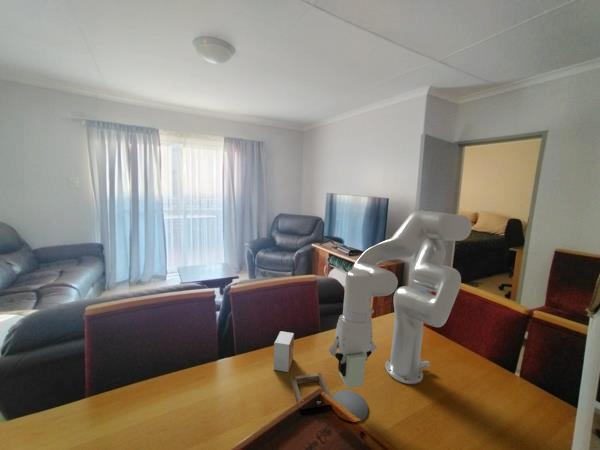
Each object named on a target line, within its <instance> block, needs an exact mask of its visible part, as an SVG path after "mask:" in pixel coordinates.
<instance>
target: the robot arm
mask: <svg viewBox="0 0 600 450" xmlns="http://www.w3.org/2000/svg"><path fill="white" fill-rule="evenodd" d="M472 226H473V224H472V220H471V219H470V217H468V216H467V215H463V214H455V213H454V214H453V213H448V212H438V211H429V210H415V211H413V212H411V213H410V214H409V215H408V217H407V218H406V219H405V220H404V221H403V222H402V224H401V225H400V226H399V227H398V228H397V230H396V231H395V232H394V233H393V235H392V236H391V237H390V238H388V239H386V240H383V241H380V242H379V243H376V244H375V245H373V246H370V247H369V248H367V249H366V250H364V252H363V253H361V255H360V256H359V257H358V258H357V260H356V261H355V263H354V264H353V266H352V268H350V270H348V271H347V272H346V274H345V284H344V297H343V307H342V308H343V309H342V314H340V315H339V317H338V320H337V323H336V329H335V334H334V342H333V343H332V344H331V346H330V347H329V348H328V352H329V354H330V355H332V356H333V357H335V358H336V359H337V360H338V367H337V369H338V373H339V372H341V374H342V376H343V377H344V376H345V375H346V363H345V361H346V358H347V355H348V354H354V353H364V355H365V356H366V361H368V358H369V357H370V356H371V355H372V353H374V351H376V350H377V347H378V346H377V345H376V344H375V342H374V341H373V324H372V317H371V314H374V312H375V310H374V308H371V307H372V298H373V297H386V296H390V295H391V294H393V293H394V294H393V299H392V300H393V308H394V309H393V310H394V321H393V331H392V341H391V342H392V343H391V350H390V358H389V359H387V360H386V362H385V366H384V367H385V370H386V373H387V374H388V375H389V376H390V377H391V378H393V379H394V380H396V381H397V382H399V383H403V384H407V385H417V384H419V383H421V382H422V381H423V380H424V379H423V378H424V373H423V370H422V369H423V368H428V367H430V366H431V363H430V361H429V360H423V359H422V358H421V352H422V345H423V344H422V342H423V336H424V335H423V334H424V326H423V323H424V324H425V325H429V326H431V327H435V328H441V327H443V326H444V325H445V324H446V323H447V320H448V319H449V316H450V314H451V312H452V308H453V307H454V304H455V302H456V299H457V297H458V294H459V292H460V289H461V285H462V284H461V283H462V277H461V274H460V272H459V270H457V269H456V268H454V267H451V266H448V265H443V264H444V261H445V258H446V256H447V251H446V248H445V245H444V243H443V241H448V242H449V241H450V242H451V241H452V242H455V241H463V240H464V241H465V240H466V239H467V238H468V237H469V236H470V234H471V232H472V228H473V227H472ZM418 249H419V251H417V250H418ZM416 252H418V253H417V255H416V257H415V260H414V262H413V264H412V266H411V269H410V272H409V274H408V277H409V278H408V279H409V281H410V282H411V283H412V284H414V285H415V286H418V287H420V288H421V289H422V288H423V289H426V290H428V291H431V292H434V293H435V294H432V293H430V292H426V291H424V290H421V289H418V288H416V287H413V286H408V285H404V286H400V287H398V285H399V284H398V283H399V279H398V277H397V276H396V274H395V273H394V272H392V271H391V270H389V269H388V270H387V269H386V268H382V267H379V266H378V264H381V263H383V262H387V261H392V260H401V259H407V258H411V257H413V256H414V255H415V253H416ZM337 350H338V351H337ZM366 361H365V362H366Z"/></svg>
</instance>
